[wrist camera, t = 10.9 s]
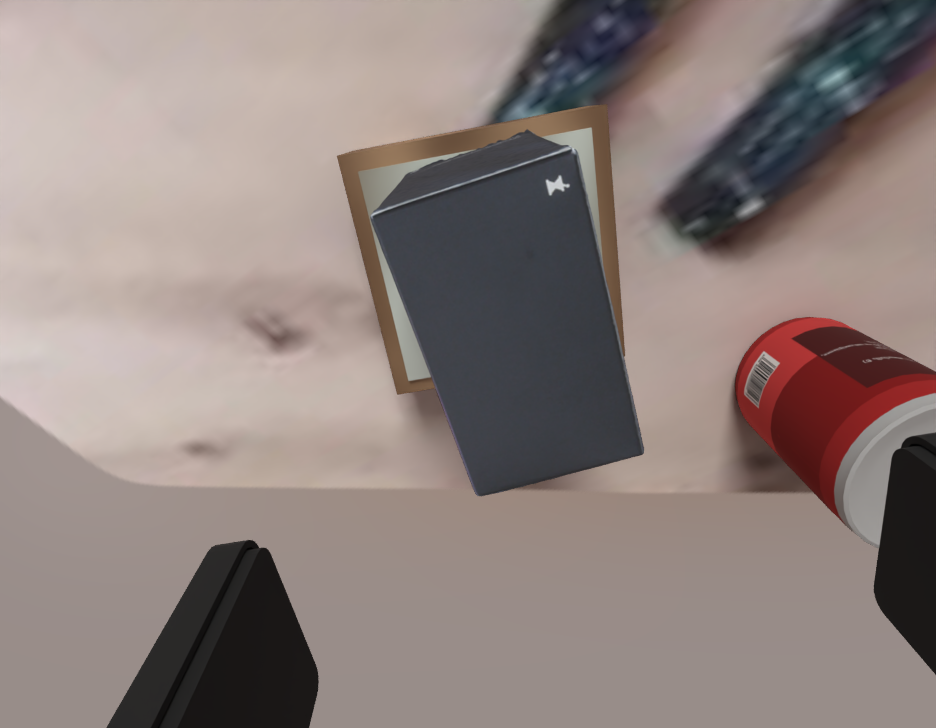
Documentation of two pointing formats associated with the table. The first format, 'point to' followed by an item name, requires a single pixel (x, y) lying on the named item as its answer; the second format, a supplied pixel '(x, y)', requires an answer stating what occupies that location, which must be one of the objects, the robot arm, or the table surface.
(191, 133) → the table surface
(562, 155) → the small box
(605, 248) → the wooden box
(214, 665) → the robot arm
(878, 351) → the canned food
